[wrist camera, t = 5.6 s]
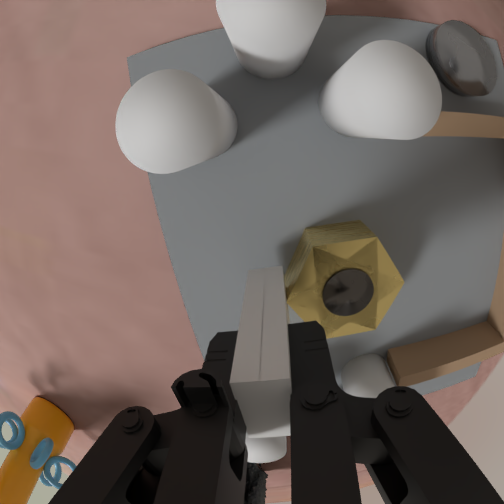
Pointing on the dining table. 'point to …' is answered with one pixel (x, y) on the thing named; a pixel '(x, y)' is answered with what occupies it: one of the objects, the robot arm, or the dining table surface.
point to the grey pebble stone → (461, 59)
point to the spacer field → (326, 179)
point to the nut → (341, 278)
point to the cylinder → (33, 450)
